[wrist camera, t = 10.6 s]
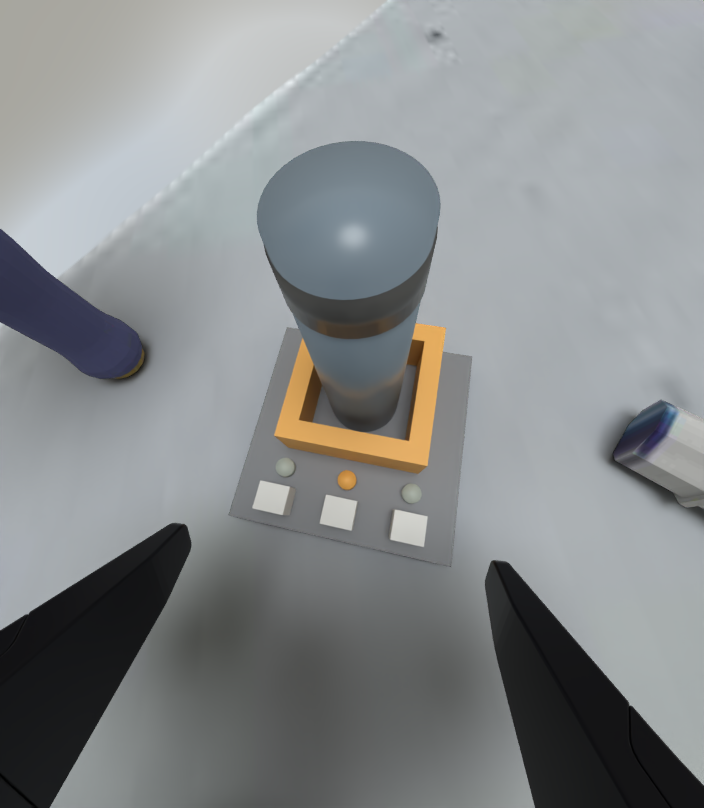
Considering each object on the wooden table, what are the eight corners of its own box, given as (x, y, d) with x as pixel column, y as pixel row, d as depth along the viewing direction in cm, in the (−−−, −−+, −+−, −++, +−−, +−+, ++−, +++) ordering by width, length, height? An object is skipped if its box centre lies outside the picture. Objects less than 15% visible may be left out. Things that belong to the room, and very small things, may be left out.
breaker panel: (445, 563, 17) (468, 577, 13) (236, 515, 19) (201, 515, 15) (466, 364, 21) (489, 330, 17) (291, 336, 22) (274, 298, 18)
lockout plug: (409, 419, 19) (475, 246, 6) (342, 442, 19) (280, 309, 6) (384, 359, 20) (401, 120, 8) (322, 380, 20) (237, 169, 8)
